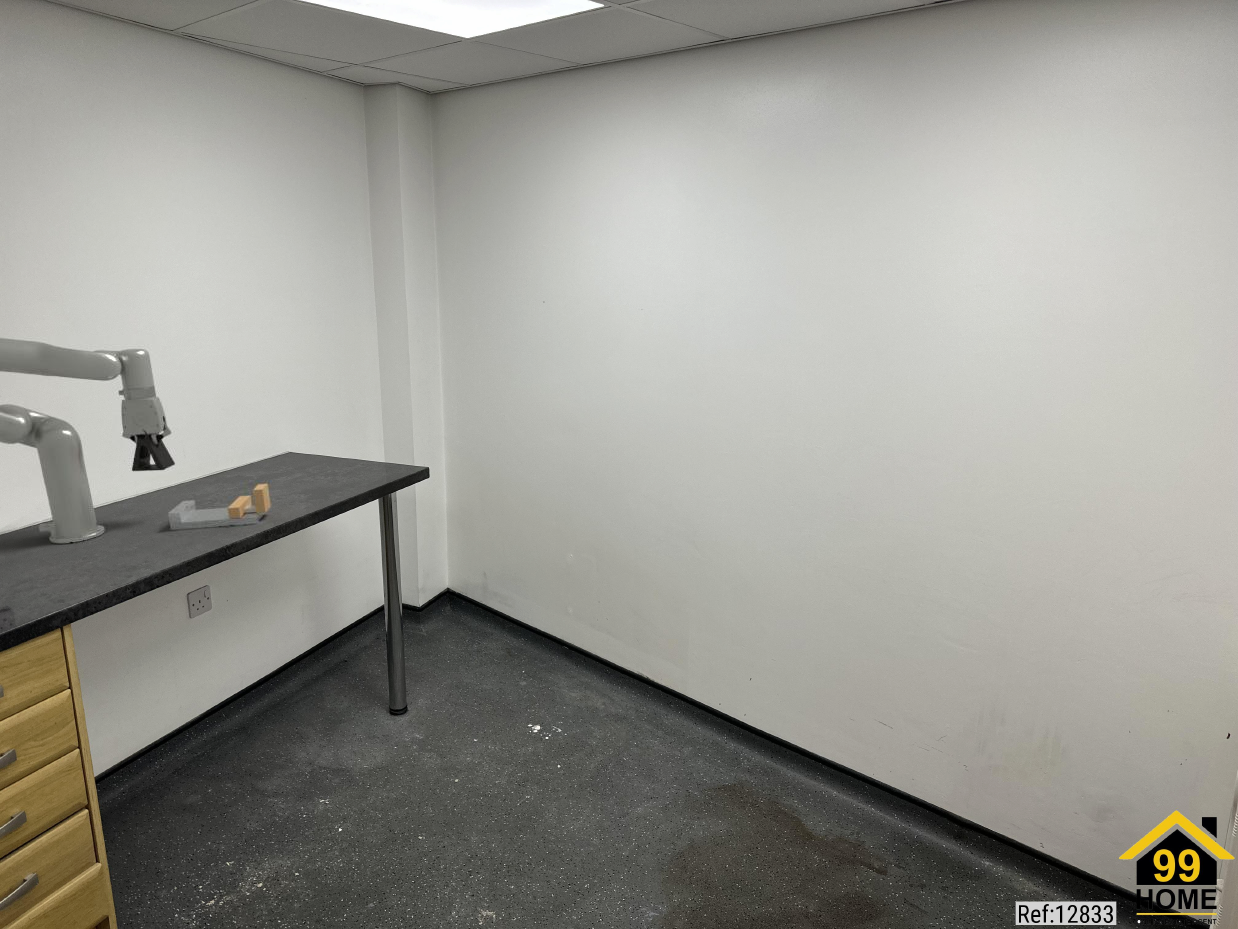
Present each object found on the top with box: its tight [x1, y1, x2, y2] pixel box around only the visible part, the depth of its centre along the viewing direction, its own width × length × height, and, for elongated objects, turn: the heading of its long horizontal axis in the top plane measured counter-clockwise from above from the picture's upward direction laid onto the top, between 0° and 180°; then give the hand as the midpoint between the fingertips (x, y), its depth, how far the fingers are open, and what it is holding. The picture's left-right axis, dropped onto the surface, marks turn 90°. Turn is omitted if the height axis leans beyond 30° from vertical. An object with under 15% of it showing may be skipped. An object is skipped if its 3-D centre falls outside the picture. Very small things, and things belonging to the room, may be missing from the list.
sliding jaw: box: [227, 483, 272, 518], centre depth 223 cm, size 9×12×7 cm
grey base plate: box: [169, 507, 266, 531], centre depth 223 cm, size 22×12×2 cm, turn 101°
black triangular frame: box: [131, 430, 176, 472], centre depth 220 cm, size 9×6×12 cm, turn 92°
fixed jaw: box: [167, 499, 197, 524], centre depth 220 cm, size 3×12×3 cm, turn 11°
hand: (150, 457), depth 220 cm, fingers closed on black triangular frame
